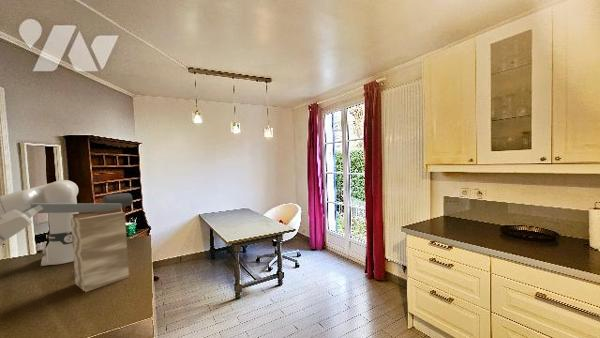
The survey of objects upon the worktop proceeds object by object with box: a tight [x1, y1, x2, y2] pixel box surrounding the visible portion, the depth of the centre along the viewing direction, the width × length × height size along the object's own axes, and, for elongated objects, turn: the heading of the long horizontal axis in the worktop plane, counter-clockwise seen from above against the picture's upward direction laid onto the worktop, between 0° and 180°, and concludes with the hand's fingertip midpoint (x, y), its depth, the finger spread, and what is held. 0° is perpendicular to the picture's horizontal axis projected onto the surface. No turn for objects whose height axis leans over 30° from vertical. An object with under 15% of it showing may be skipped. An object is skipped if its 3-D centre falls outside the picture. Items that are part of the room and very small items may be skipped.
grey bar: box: [30, 203, 123, 214], centre depth 98 cm, size 3×26×3 cm, turn 143°
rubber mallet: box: [102, 192, 133, 208], centre depth 143 cm, size 12×8×30 cm, turn 142°
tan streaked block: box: [71, 209, 130, 293], centre depth 103 cm, size 12×14×27 cm
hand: (40, 206), depth 90 cm, fingers closed on grey bar, 3 cm apart
